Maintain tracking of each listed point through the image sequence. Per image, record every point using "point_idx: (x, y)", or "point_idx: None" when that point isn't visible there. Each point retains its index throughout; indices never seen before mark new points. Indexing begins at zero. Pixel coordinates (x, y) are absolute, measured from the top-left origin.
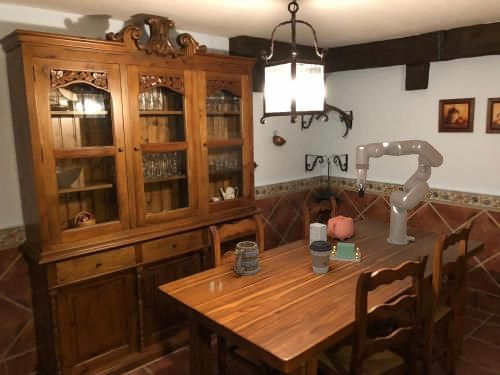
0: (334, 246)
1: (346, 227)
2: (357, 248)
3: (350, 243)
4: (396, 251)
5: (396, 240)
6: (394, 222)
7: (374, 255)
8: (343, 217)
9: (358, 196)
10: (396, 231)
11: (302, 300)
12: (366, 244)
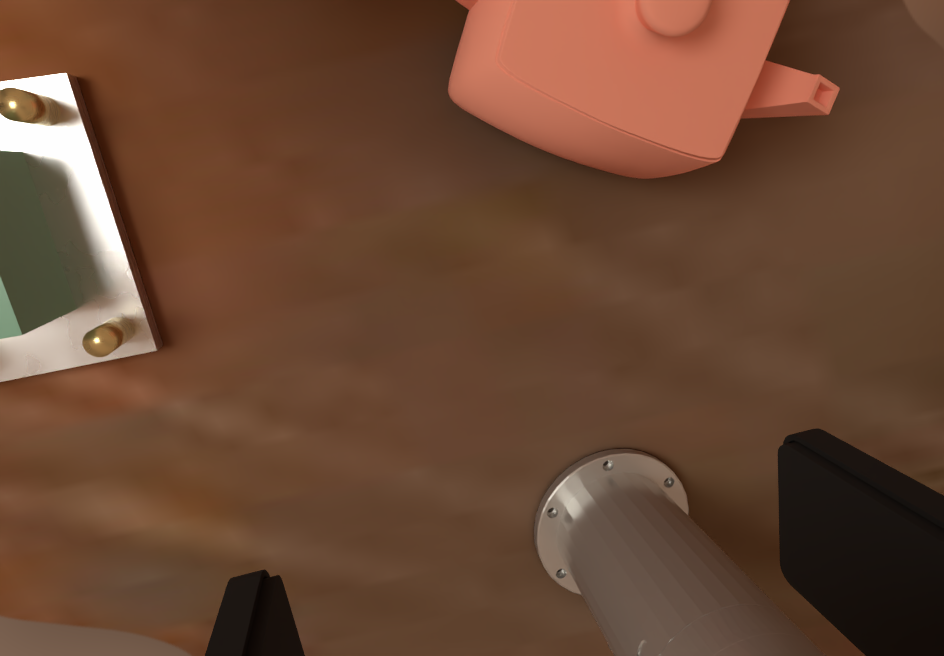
0: (9, 102)
1: (534, 122)
2: (83, 344)
3: (4, 292)
4: (378, 562)
5: (561, 541)
6: (632, 627)
7: (200, 448)
8: (753, 25)
9: (225, 599)
10: (589, 587)
11: None
12: (457, 328)
